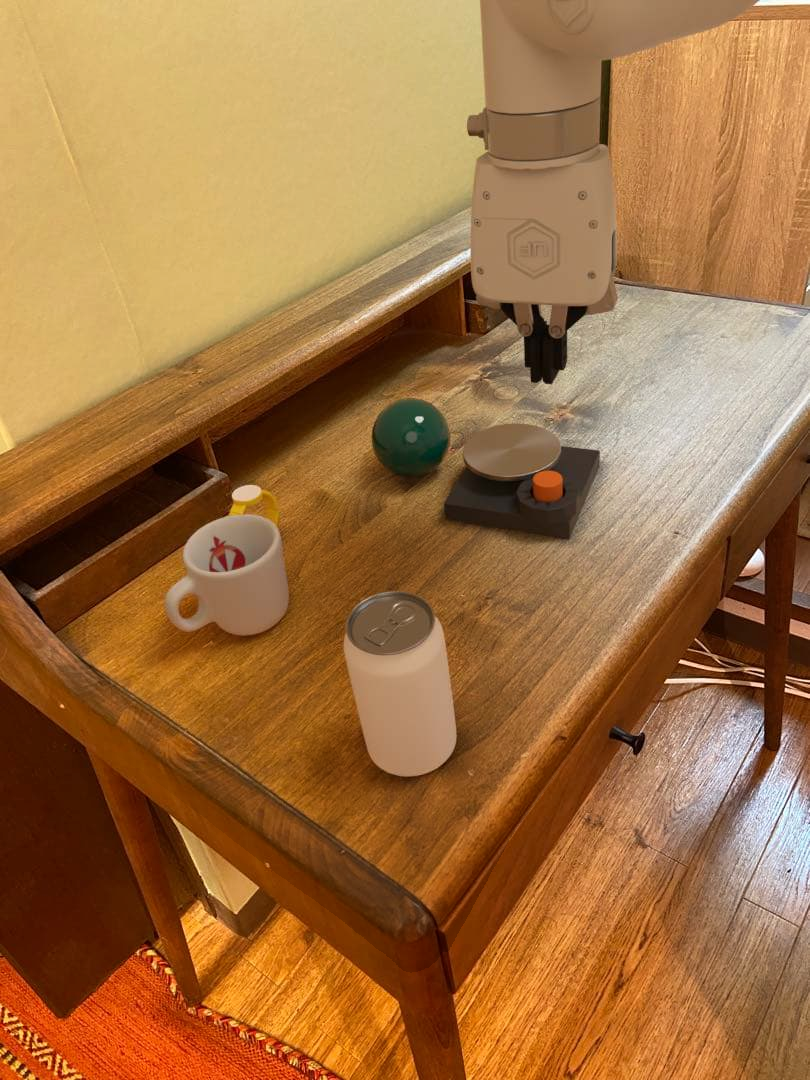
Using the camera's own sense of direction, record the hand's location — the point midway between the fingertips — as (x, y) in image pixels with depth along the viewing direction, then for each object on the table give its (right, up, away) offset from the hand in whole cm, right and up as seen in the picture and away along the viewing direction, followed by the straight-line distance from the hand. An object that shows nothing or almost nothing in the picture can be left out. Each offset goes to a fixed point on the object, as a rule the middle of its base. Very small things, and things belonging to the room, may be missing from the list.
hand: (546, 375), depth 67 cm
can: (-11, -28, -8) cm, 31 cm away
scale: (0, -9, +13) cm, 16 cm away
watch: (-25, -14, +12) cm, 31 cm away
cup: (-26, -21, +4) cm, 33 cm away
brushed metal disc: (-1, -5, +13) cm, 14 cm away
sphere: (-10, -6, +19) cm, 22 cm away
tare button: (+1, -9, +7) cm, 12 cm away
